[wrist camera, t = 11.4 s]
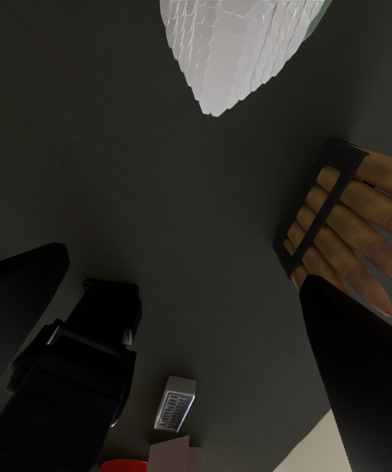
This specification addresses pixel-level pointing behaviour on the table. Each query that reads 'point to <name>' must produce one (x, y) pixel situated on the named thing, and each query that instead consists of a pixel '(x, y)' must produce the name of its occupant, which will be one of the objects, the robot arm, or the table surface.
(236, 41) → the pincushion
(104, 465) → the toy clock
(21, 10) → the table surface
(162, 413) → the multiport hub
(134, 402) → the table surface
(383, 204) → the ammunition clip
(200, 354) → the table surface
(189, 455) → the greeting card
